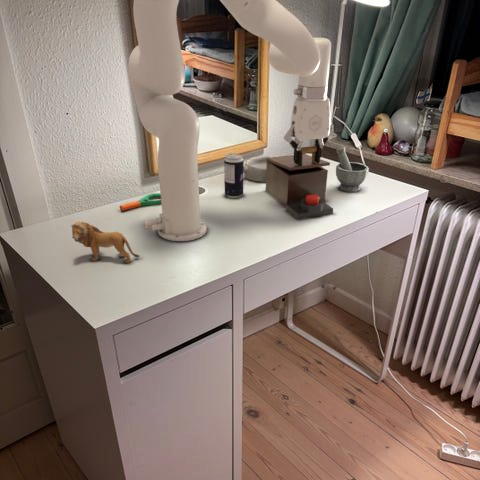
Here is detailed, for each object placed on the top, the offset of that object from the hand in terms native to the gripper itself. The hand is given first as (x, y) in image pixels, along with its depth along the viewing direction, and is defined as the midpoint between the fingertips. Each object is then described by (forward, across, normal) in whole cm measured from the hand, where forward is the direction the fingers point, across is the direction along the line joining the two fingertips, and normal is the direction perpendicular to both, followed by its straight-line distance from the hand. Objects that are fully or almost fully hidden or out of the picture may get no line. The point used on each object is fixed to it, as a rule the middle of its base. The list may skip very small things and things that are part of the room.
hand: (306, 162), depth 137 cm
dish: (+12, -1, +26) cm, 29 cm away
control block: (+12, -2, -7) cm, 14 cm away
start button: (+9, -2, -8) cm, 12 cm away
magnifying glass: (+12, -44, +16) cm, 48 cm away
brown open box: (+12, 0, +6) cm, 13 cm away
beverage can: (+12, -17, +13) cm, 24 cm away
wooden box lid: (+2, 0, +5) cm, 6 cm away
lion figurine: (+12, -60, -14) cm, 63 cm away
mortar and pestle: (+12, +19, +6) cm, 23 cm away
